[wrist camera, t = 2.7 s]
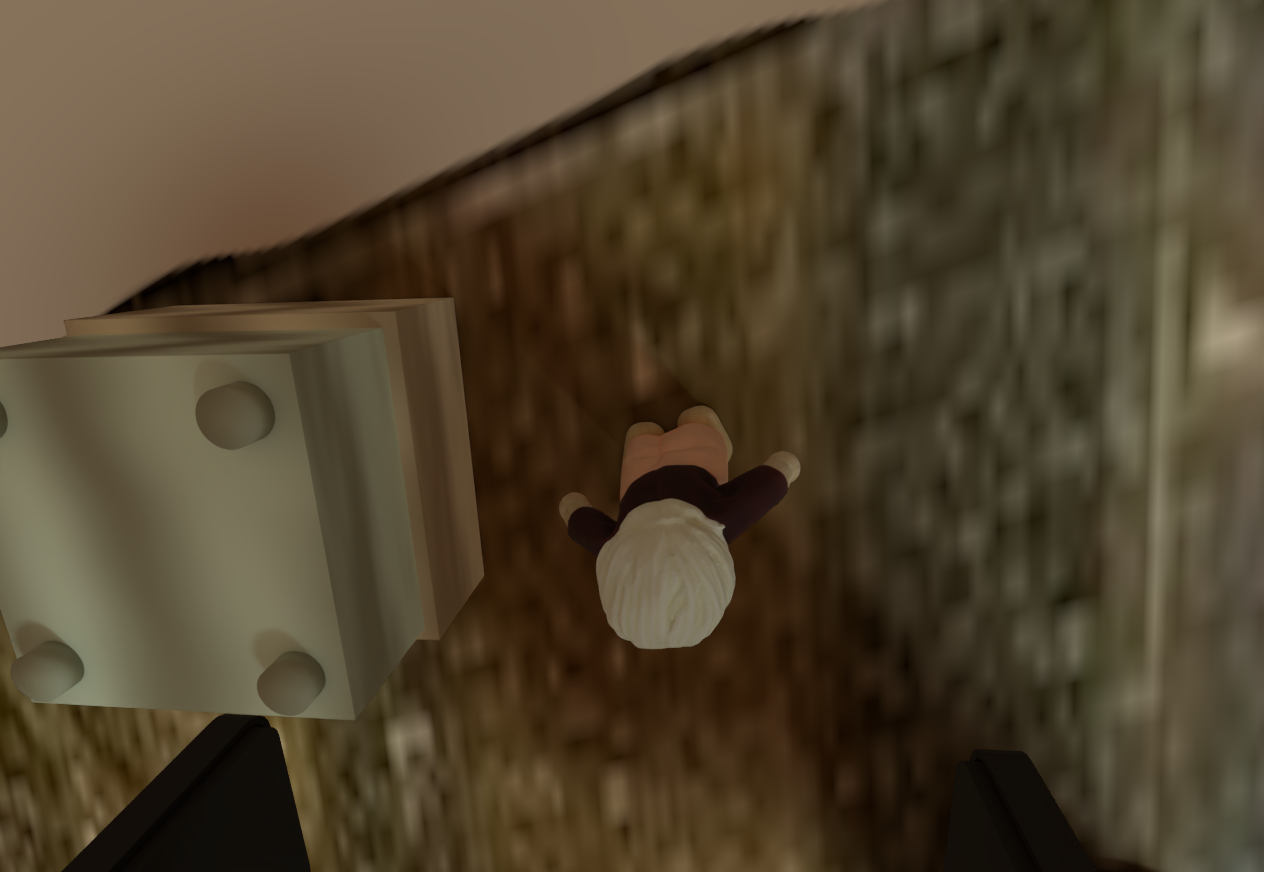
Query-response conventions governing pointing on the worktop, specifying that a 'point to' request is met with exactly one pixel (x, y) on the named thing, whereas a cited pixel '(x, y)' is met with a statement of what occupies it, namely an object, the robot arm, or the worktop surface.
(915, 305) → the worktop surface
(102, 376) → the grey studded block
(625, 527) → the grandmother figurine
